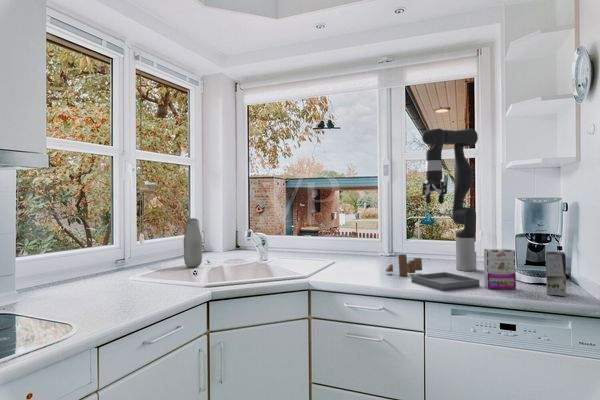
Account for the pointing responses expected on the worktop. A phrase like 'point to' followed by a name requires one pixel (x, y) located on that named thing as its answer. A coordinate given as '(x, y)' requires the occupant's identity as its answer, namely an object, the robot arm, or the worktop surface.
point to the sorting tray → (445, 281)
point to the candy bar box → (499, 269)
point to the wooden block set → (406, 265)
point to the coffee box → (556, 273)
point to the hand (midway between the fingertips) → (434, 203)
